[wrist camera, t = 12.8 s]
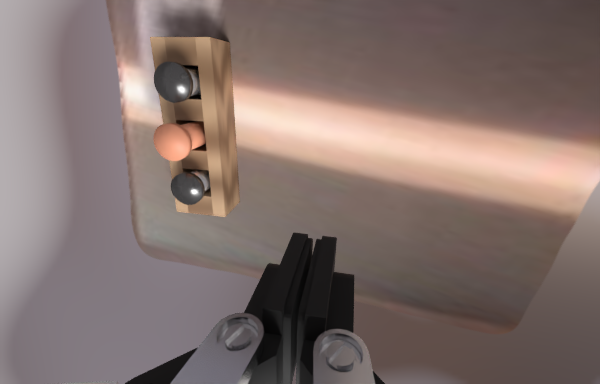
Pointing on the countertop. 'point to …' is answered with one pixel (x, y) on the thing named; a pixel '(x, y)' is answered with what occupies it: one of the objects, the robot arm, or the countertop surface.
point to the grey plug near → (176, 82)
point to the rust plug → (179, 139)
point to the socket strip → (205, 118)
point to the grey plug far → (190, 186)
